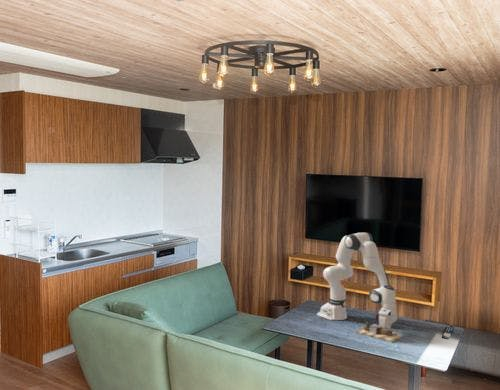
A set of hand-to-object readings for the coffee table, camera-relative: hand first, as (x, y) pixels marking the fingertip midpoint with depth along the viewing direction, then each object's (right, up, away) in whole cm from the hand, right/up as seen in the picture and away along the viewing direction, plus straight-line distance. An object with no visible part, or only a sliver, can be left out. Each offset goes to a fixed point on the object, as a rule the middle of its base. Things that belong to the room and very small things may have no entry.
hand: (388, 330), depth 317 cm
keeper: (-8, -2, +2) cm, 9 cm away
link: (-7, -1, +2) cm, 7 cm away
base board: (-6, -3, +1) cm, 6 cm away
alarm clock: (+3, -2, +18) cm, 18 cm away
